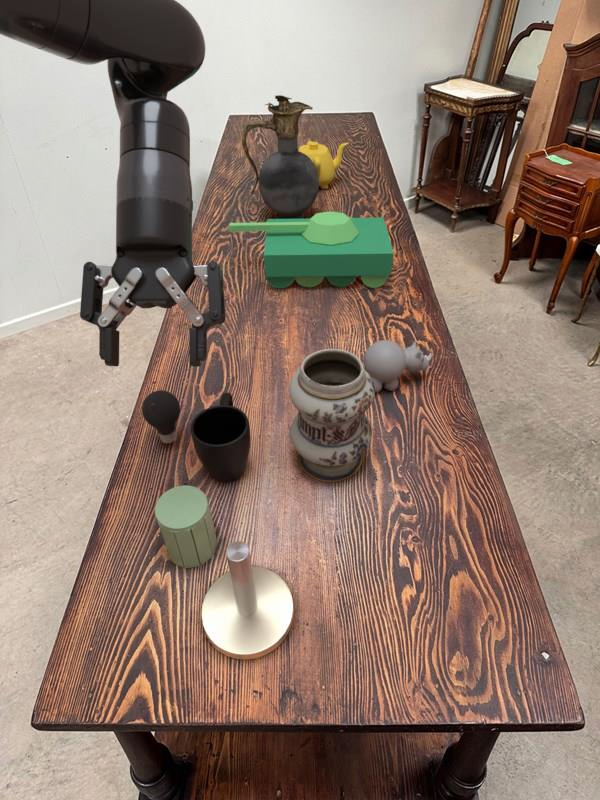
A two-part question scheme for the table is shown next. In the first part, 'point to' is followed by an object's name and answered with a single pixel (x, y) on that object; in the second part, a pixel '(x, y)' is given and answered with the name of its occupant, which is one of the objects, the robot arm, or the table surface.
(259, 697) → the table surface
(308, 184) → the pitcher
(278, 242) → the toy tank
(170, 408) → the light bulb
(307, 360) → the apothecary jar
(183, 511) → the green grooved cylinder
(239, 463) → the mug
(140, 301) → the robot arm
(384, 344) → the chubby cartoon animal
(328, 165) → the teapot
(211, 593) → the towel holder
